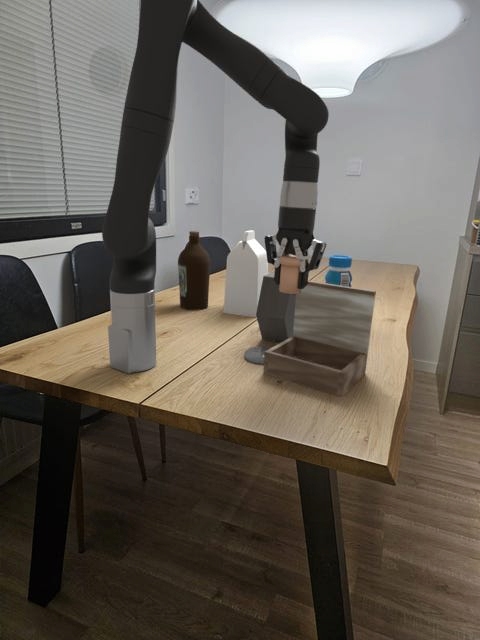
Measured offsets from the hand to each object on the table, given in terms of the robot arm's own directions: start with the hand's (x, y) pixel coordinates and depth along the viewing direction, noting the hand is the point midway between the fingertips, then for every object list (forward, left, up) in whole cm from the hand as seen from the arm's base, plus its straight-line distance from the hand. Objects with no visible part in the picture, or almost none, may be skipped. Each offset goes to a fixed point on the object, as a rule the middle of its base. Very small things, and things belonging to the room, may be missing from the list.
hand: (290, 286), depth 92 cm
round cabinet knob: (0, 0, -1) cm, 1 cm away
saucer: (+1, +7, -19) cm, 20 cm away
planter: (+17, +11, -19) cm, 27 cm away
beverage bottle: (+43, +6, -19) cm, 47 cm away
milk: (+33, +33, -19) cm, 50 cm away
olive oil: (+25, +49, -19) cm, 58 cm away
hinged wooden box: (0, -7, -19) cm, 20 cm away
